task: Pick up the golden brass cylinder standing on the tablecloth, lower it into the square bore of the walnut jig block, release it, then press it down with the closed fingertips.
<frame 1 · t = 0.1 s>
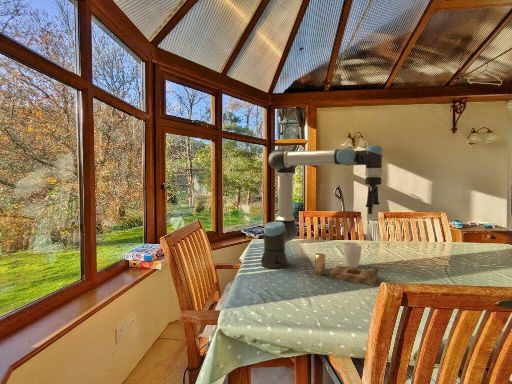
hand: (372, 218, 146), 28 cm above the table, fingers open, 13 cm apart
golden brass cylinder: (319, 274, 146), on the table
cup: (352, 266, 159), on the table
jig: (353, 277, 140), on the table
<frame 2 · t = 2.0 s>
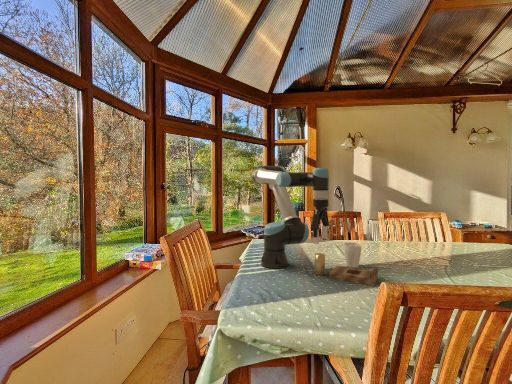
hand: (320, 241, 145), 17 cm above the table, fingers open, 13 cm apart
nothing on the table moved.
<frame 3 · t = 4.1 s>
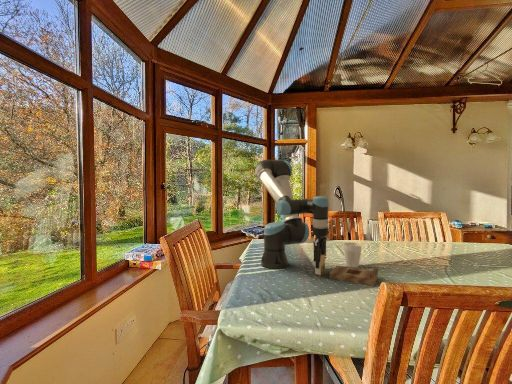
hand: (319, 272, 146), 1 cm above the table, fingers closed on golden brass cylinder, 5 cm apart
golden brass cylinder: (319, 274, 146), on the table, touching gripper
everything else where it was.
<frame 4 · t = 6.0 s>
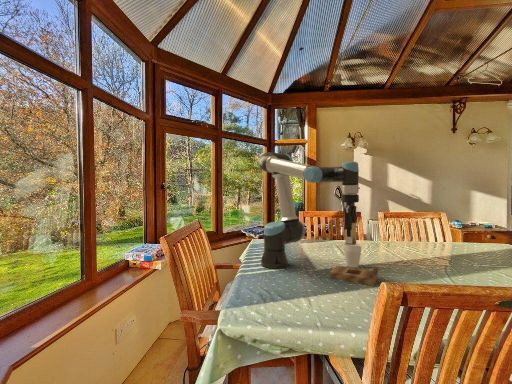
hand: (350, 242, 139), 18 cm above the table, fingers closed on golden brass cylinder, 5 cm apart
golden brass cylinder: (350, 243, 139), point 17 cm above the table, touching gripper
everything else where it was.
when the fingers open (3 cm above the table, at t = 8.2 s): golden brass cylinder drops 3 cm, resting in jig.
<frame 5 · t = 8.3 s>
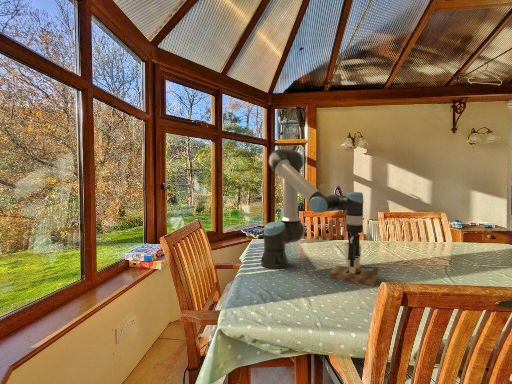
hand: (353, 271, 140), 3 cm above the table, fingers open, 6 cm apart
golden brass cylinder: (353, 277, 140), resting in jig
everything else where it was.
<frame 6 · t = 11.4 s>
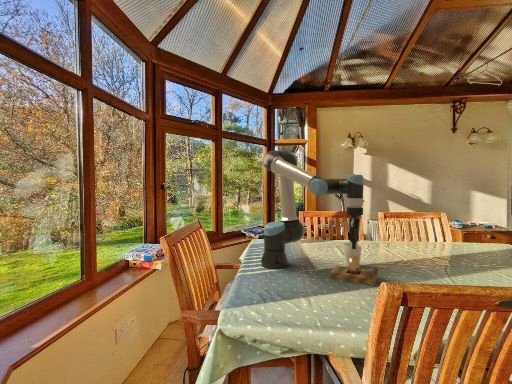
hand: (354, 255, 139), 11 cm above the table, fingers closed
nothing on the table moved.
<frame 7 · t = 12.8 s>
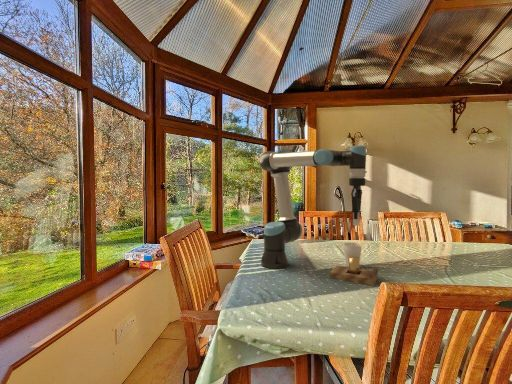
hand: (356, 225, 143), 25 cm above the table, fingers closed
nothing on the table moved.
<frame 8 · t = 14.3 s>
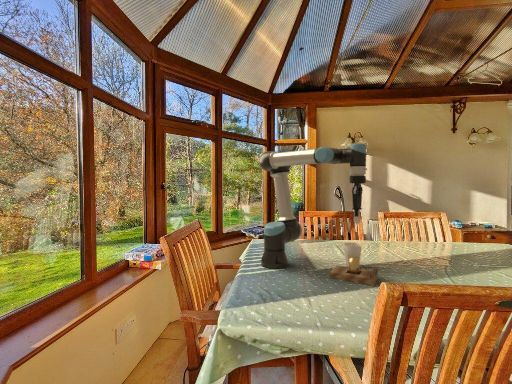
hand: (356, 222, 143), 26 cm above the table, fingers closed
nothing on the table moved.
at the end: golden brass cylinder 0.2 cm off-centre on the jig, point 0.0 cm above the jig's base; golden brass cylinder tilted 0°; the gripper is holding nothing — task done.
